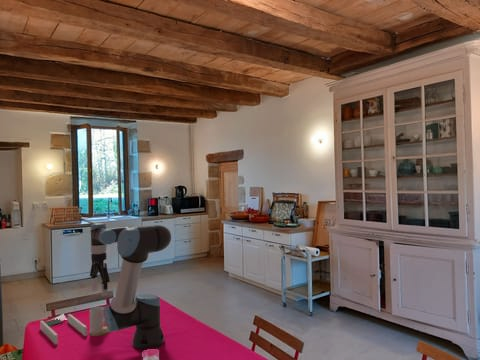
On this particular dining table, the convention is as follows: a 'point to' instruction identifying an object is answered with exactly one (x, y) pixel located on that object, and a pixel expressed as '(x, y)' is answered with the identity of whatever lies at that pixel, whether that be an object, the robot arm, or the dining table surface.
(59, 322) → the pad
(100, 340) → the dining table surface
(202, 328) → the dining table surface
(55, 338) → the channel
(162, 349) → the dining table surface
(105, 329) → the coaster
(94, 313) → the mug
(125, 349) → the dining table surface
